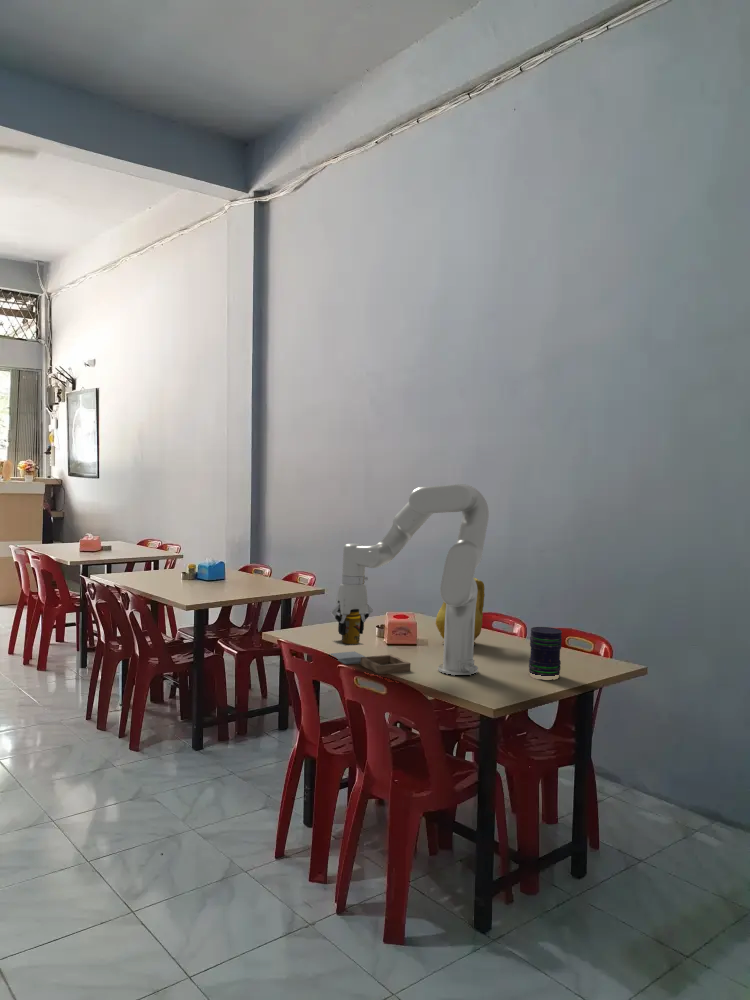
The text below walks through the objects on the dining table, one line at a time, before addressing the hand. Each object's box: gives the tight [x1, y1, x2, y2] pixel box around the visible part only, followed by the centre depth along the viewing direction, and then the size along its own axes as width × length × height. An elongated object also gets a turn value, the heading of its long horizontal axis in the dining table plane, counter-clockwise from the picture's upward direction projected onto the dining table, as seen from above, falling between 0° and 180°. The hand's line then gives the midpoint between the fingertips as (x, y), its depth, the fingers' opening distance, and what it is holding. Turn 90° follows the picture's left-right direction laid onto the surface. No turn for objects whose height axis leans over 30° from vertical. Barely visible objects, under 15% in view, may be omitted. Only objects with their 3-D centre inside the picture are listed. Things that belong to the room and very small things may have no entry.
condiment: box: [332, 609, 364, 647], centre depth 259 cm, size 7×8×12 cm
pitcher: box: [435, 577, 486, 645], centre depth 288 cm, size 17×19×25 cm
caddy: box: [360, 654, 412, 675], centre depth 249 cm, size 12×11×2 cm
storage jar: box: [528, 626, 563, 676], centre depth 246 cm, size 10×10×15 cm
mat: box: [330, 651, 366, 665], centre depth 259 cm, size 13×10×1 cm
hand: (350, 633), depth 259 cm, fingers closed on condiment, 6 cm apart
